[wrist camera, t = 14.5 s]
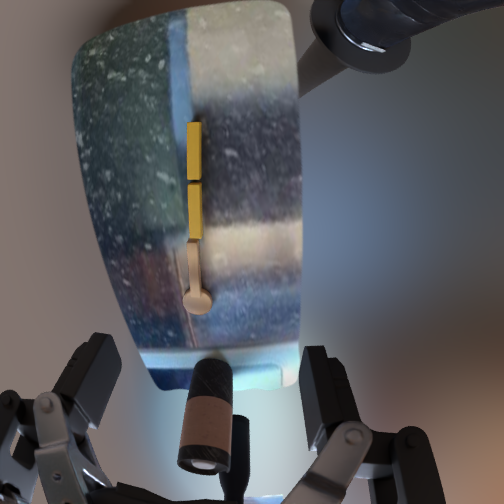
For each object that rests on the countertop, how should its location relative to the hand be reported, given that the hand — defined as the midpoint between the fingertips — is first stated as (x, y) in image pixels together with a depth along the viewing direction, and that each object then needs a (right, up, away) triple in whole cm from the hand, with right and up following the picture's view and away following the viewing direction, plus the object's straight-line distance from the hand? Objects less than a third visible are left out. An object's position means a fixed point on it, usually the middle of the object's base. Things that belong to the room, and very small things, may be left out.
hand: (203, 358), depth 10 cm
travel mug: (-5, -18, +37) cm, 41 cm away
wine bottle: (-2, -35, +45) cm, 56 cm away
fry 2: (-5, +10, +24) cm, 27 cm away
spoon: (-6, +1, +28) cm, 29 cm away
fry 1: (-5, +17, +21) cm, 28 cm away
